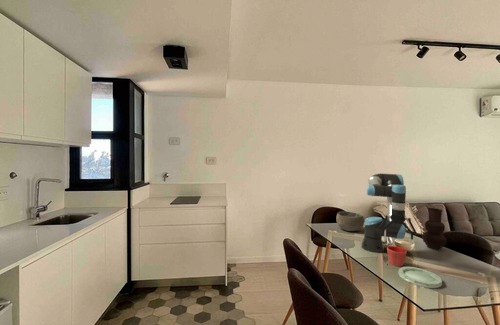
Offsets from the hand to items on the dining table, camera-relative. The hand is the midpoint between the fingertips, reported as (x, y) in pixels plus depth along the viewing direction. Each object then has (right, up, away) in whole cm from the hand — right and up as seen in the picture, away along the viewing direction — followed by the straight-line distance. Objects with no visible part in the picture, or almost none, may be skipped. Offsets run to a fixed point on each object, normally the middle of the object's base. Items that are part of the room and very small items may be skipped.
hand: (397, 242), depth 154 cm
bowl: (0, -13, +73) cm, 74 cm away
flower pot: (0, -14, +1) cm, 14 cm away
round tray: (+2, -15, -18) cm, 23 cm away
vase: (+46, -15, +30) cm, 57 cm away
